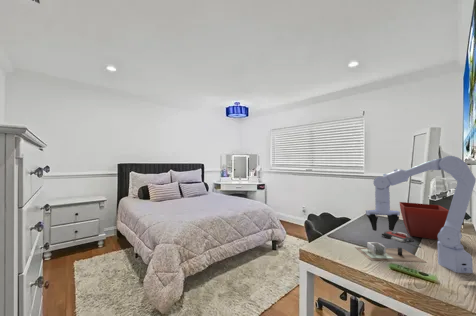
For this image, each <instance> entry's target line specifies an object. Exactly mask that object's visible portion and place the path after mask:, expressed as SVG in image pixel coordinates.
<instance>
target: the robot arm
mask: <svg viewBox="0 0 476 316" xmlns="http://www.w3.org/2000/svg"><path fill="white" fill-rule="evenodd" d="M428 171H443V172H446V173H447V174H449V175H450V176H452V178H453V179H454V180H455V181H456V182H457V183H456V186H455V190H454V192H453V196H452V200H451V203H450V206H449V209H448V210H449V212H448V216H447V219H446V222H445V225H444V227H442V228H441V230H440V232H439V233H438V240H437V263H438V265H439V266H442V267H444V268H446V269H448V270H449V271H450V270H451V271H452V272H454V273H459V274H460V273H461V274H473V273H474V272H473V271H474V269H473V267H474V266H473V257H472V255H471V253H469V252H467V251H466V250H465V249H464V245H463V244H462V243H461V241H462V240H461V239H462V237H463V235H462V232H461V231H462V230H461V229H462V226H463V222H464V219H465V216H466V214H467V209H468V208H469V207H468V206H469V204H470V200H471V196H472V195H473V191H474V188H475V185H476V177H475V175H474V173H473V172H472V170H471V169H470V167H469V166H468V164H467V163H466V162H465V161H464V160H463V159H461V158H459V157H458V156H455V155H446V156H443V157H441V158H436V159H432V160H429V161H425V162H422V163H420V164H418V165H415V166H413V167H411V168H408V169H402V168H400V169H398V168H395V169H393V171H391V172H388V173H383V174H382V176H381V175H379V176H377V177H375V179H374V180H373V181H372V182H373V185H374V188H375V189H374V190H375V191H374V198H375V200H374V203H375V205H374V206H375V208H374V209H369V210H368V209H366V210H365V215H366V216H367V218H368V220H369V222H370V226H371V228H372V231H375V232H376V231H377V229H378V227H377V226H378V225H377V223H378V219H379V217H378V216H387V220H388V231H395V227H396V224H397V222H399V220H400V216H401V211H400V210H393V209H392V210H391V205H390V203H391V201H390V197H391V196H390V187H392V186H396V185H399V184H402V183H404V182H408V180H409V178H410V177H412V176H416V175H419V174H423V173H425V172H428Z"/></svg>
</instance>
